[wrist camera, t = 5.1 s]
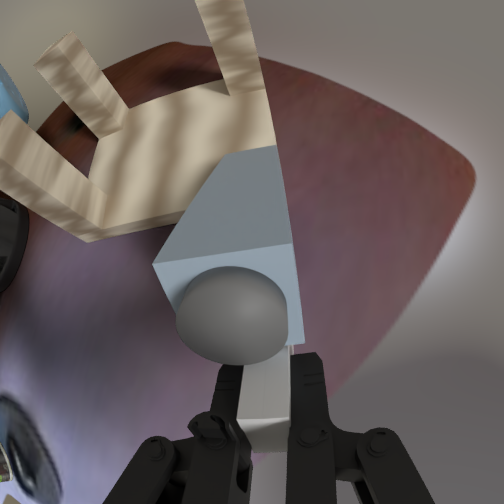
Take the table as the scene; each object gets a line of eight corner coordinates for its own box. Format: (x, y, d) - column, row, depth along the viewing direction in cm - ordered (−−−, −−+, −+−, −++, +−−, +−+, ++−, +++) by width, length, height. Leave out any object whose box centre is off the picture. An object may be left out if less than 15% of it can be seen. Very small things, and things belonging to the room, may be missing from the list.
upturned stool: (87, 242, 27) (-30, 168, 11) (113, 127, 33) (48, 47, 18) (287, 203, 24) (247, 16, 8) (264, 83, 30) (233, -36, 14)
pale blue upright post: (236, 200, 22) (190, 373, 9) (225, 154, 20) (139, 285, 7) (285, 192, 22) (307, 365, 8) (276, 144, 20) (295, 265, 6)
